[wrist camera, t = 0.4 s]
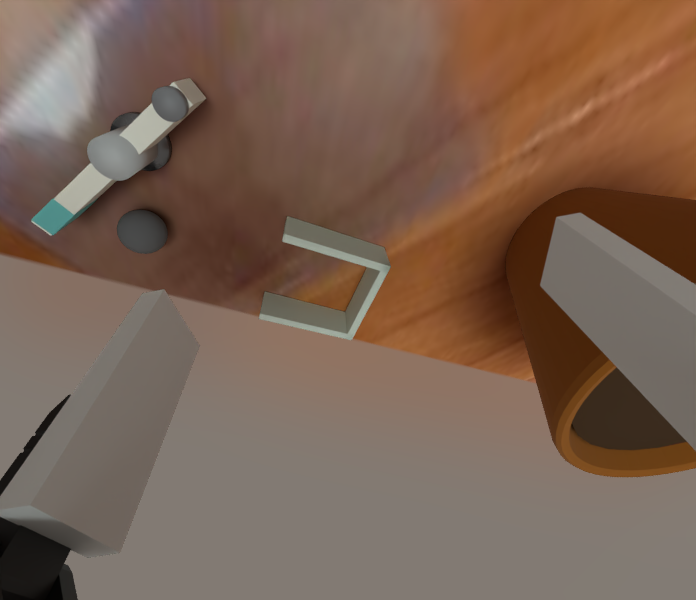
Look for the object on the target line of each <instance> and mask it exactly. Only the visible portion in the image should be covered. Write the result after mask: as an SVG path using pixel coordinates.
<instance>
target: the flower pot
mask: <svg viewBox="0 0 696 600" xmlns="http://www.w3.org/2000/svg"><path fill="white" fill-rule="evenodd" d="M575 213H582V214H583V215H585V216H587V217H588V218H590V219H591V220H593V221H595V222H596V223H598V224H599V225H601V226H603V227H604V228H606V229H607V230H609V231H611V232H612V233H614V234H615V235H617V236H619V237H620V238H622V239H623V240H625V241H627V242H628V243H630V244H631V245H633V246H635V247H636V248H638V249H639V250H641V251H643V252H644V253H646V254H647V255H649V256H651V257H652V258H654V259H655V260H657V261H659V262H660V263H662V264H663V265H665V266H667V267H668V268H670V269H671V270H673V271H675V272H676V273H678V274H679V275H681V276H683V277H684V278H686V279H687V280H689V281H691V282H692V283H694V284H695V285H696V200H690V199H681V198H673V197H665V196H656V195H648V194H640V193H631V192H623V191H614V190H606V189H598V188H578V189H574V190H570V191H567V192H564V193H561V194H559V195H557V196H555V197H553V198H551V199H550V200H548V201H546V202H545V203H543V204H542V205H541V206H539V207H538V208H537V209H536V210H535V211H533V212H532V213H531V214H530V215H529V216H528V217H527V218H526V220H525V221H524V222H523V223H522V224H521V226H520V227H519V229H518V230H517V232H516V233H515V235H514V237H513V239H512V241H511V243H510V245H509V248H508V251H507V255H506V262H505V270H506V276H507V280H508V283H509V287H510V290H511V294H512V298H513V301H514V305H515V308H516V312H517V315H518V319H519V322H520V326H521V330H522V333H523V337H524V340H525V344H526V347H527V351H528V354H529V358H530V362H531V365H532V369H533V372H534V376H535V379H536V383H537V386H538V390H539V393H540V397H541V401H542V404H543V408H544V411H545V415H546V418H547V422H548V426H549V429H550V433H551V436H552V440H553V442H554V444H555V446H556V448H557V450H558V451H559V453H560V455H561V456H562V457H563V458H564V459H565V460H566V461H567V462H569V463H570V464H572V465H573V466H575V467H577V468H579V469H581V470H583V471H586V472H589V473H593V474H596V475H603V476H610V477H642V476H653V475H661V474H668V473H673V472H679V471H684V470H689V469H693V468H696V451H695V450H694V449H693V448H692V447H691V445H690V444H689V443H688V442H687V441H686V440H685V439H684V438H683V437H682V436H681V435H680V434H679V433H678V432H677V431H676V430H675V428H674V427H673V426H672V425H671V424H670V423H669V422H668V421H667V420H666V419H665V418H664V417H663V416H662V415H661V414H660V413H659V411H658V410H657V409H656V408H655V407H654V406H653V405H652V404H651V403H650V402H649V401H648V400H647V399H646V398H645V397H644V396H643V395H642V393H641V392H640V391H639V390H638V389H637V388H636V387H635V386H634V385H633V384H632V383H631V382H630V381H629V380H628V379H627V378H626V376H625V375H624V374H623V373H622V372H621V371H620V370H619V369H618V368H617V367H616V366H615V365H614V364H613V363H612V362H611V361H610V359H609V358H608V357H607V356H606V355H605V354H604V353H603V352H602V351H601V350H600V349H599V348H598V347H597V346H596V345H595V344H594V342H593V341H592V340H591V339H590V338H589V337H588V336H587V335H586V334H585V333H584V332H583V331H582V330H581V329H580V328H579V327H578V325H577V324H576V323H575V322H574V321H573V320H572V319H571V318H570V317H569V316H568V315H567V314H566V313H565V312H564V311H563V310H562V309H561V307H560V306H559V305H558V304H557V303H556V302H555V301H554V300H553V299H552V298H551V297H550V296H549V295H548V294H547V293H546V292H545V290H544V289H543V288H542V287H541V286H540V283H541V279H542V275H543V271H544V266H545V262H546V258H547V254H548V250H549V245H550V241H551V237H552V233H553V229H554V225H555V220H556V217H559V216H564V215H570V214H575Z"/></svg>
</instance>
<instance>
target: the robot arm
mask: <svg viewBox="0 0 696 600" xmlns="http://www.w3.org/2000/svg"><path fill="white" fill-rule="evenodd" d="M540 286H541V287H542V288H543V289H544V290H545V292H546V293H547V294H548V295H549V296H550V297H551V298H552V299H553V300H554V301H555V302H556V303H557V304H558V305H559V306H560V307H561V309H562V310H563V311H564V312H565V313H566V314H567V315H568V316H569V317H570V318H571V319H572V320H573V321H574V322H575V323H576V324H577V325H578V327H579V328H580V329H581V330H582V331H583V332H584V333H585V334H586V335H587V336H588V337H589V338H590V339H591V340H592V341H593V342H594V344H595V345H596V346H597V347H598V348H599V349H600V350H601V351H602V352H603V353H604V354H605V355H606V356H607V357H608V358H609V359H610V361H611V362H612V363H613V364H614V365H615V366H616V367H617V368H618V369H619V370H620V371H621V372H622V373H623V374H624V375H625V376H626V378H627V379H628V380H629V381H630V382H631V383H632V384H633V385H634V386H635V387H636V388H637V389H638V390H639V391H640V392H641V393H642V395H643V396H644V397H645V398H646V399H647V400H648V401H649V402H650V403H651V404H652V405H653V406H654V407H655V408H656V409H657V410H658V411H659V413H660V414H661V415H662V416H663V417H664V418H665V419H666V420H667V421H668V422H669V423H670V424H671V425H672V426H673V427H674V428H675V430H676V431H677V432H678V433H679V434H680V435H681V436H682V437H683V438H684V439H685V440H686V441H687V442H688V443H689V444H690V445H691V447H692V448H693V449H694V450H695V451H696V285H695V284H694V283H692V282H691V281H689V280H687V279H686V278H684V277H683V276H681V275H679V274H678V273H676V272H675V271H673V270H671V269H670V268H668V267H667V266H665V265H663V264H662V263H660V262H659V261H657V260H655V259H654V258H652V257H651V256H649V255H647V254H646V253H644V252H643V251H641V250H639V249H638V248H636V247H635V246H633V245H631V244H630V243H628V242H627V241H625V240H623V239H622V238H620V237H619V236H617V235H615V234H614V233H612V232H611V231H609V230H607V229H606V228H604V227H603V226H601V225H599V224H598V223H596V222H595V221H593V220H591V219H590V218H588V217H587V216H585V215H583V214H582V213H575V214H570V215H564V216H559V217H556V220H555V225H554V229H553V233H552V237H551V241H550V245H549V250H548V254H547V258H546V262H545V266H544V271H543V275H542V279H541V283H540ZM199 347H200V345H199V343H198V342H197V341H196V339H195V337H194V335H193V334H192V332H191V331H190V329H189V328H188V326H187V325H186V323H185V321H184V320H183V318H182V316H181V315H180V313H179V312H178V310H177V308H176V307H175V306H174V304H173V302H172V301H171V299H170V297H169V296H168V294H167V293H166V291H165V289H163V290H157V291H152V292H146V293H142V295H141V296H140V298H139V299H138V300H137V302H136V303H135V305H134V306H133V308H132V309H131V310H130V312H129V313H128V315H127V316H126V318H125V319H124V320H123V322H122V323H121V325H120V326H119V328H118V329H117V330H116V332H115V333H114V335H113V336H112V337H111V339H110V340H109V342H108V343H107V345H106V346H105V348H104V349H103V350H102V352H101V353H100V355H99V356H98V357H97V359H96V360H95V362H94V363H93V365H92V366H91V367H90V369H89V370H88V372H87V373H86V375H85V376H84V378H83V379H82V380H81V382H80V383H79V385H78V386H77V388H76V389H75V390H74V392H73V393H72V395H68V396H67V397H66V398H65V399H64V400H63V401H62V402H61V403H59V404H58V405H57V406H56V407H55V408H54V409H53V410H52V411H51V412H50V413H49V414H48V415H47V417H46V418H45V420H44V421H43V422H42V424H41V425H40V427H39V428H38V429H37V431H36V432H35V433H36V435H35V436H32V437H31V439H30V440H29V442H28V443H27V444H26V446H25V447H24V452H23V453H20V454H19V456H18V457H17V458H16V459H15V461H14V462H13V464H12V465H11V466H10V468H9V469H8V471H7V472H6V473H5V475H4V476H3V477H2V479H1V480H0V600H78V599H77V594H76V589H75V585H74V579H73V574H72V571H71V570H70V568H69V566H68V565H66V564H64V562H65V560H66V558H67V556H68V554H69V552H70V550H73V551H75V552H77V553H79V554H81V555H83V556H85V557H87V558H90V557H97V556H103V555H110V554H116V553H120V552H121V549H122V547H123V544H124V541H125V539H126V536H127V534H128V531H129V528H130V526H131V523H132V521H133V518H134V515H135V513H136V510H137V507H138V505H139V502H140V500H141V497H142V495H143V492H144V489H145V487H146V484H147V482H148V479H149V477H150V474H151V471H152V469H153V466H154V464H155V461H156V458H157V456H158V453H159V451H160V448H161V445H162V443H163V440H164V437H165V435H166V432H167V430H168V427H169V425H170V422H171V419H172V417H173V414H174V412H175V409H176V406H177V404H178V401H179V398H180V396H181V394H182V390H183V388H184V386H185V383H186V380H187V378H188V375H189V372H190V370H191V368H192V365H193V362H194V360H195V357H196V354H197V352H198V349H199Z"/></svg>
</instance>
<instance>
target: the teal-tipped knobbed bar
mask: <svg viewBox="0 0 696 600" xmlns="http://www.w3.org/2000/svg"><path fill="white" fill-rule="evenodd" d="M205 99H206V97H205V96H204V95H203V93H202V92H201V91H200V90H199V89H198V87H197V86H196V85H195V84H194V82H193V81H192V80H191V79H190V78H187V79H183V80H179V81H175V82H173V83H172V84H171V85H170V86H164V87H161V88H158V89H156V90H155V91H154V93H153V95H152V103H151V104H150V105H149V106H148V107H147V108H146V109H145V110H144V111H143V112H142V113H141V114H140V115H139V116H138V117H137V118H136V119H135V120H134V121H133V122H132V123H131V124H128V125H125V126H122V127H120V128H118V129H115V130H113V131H110V132H108V133H105V134H103V135H101V136H98V137H96V138H94V139H92V140H91V141H90V142H89V144H88V148H87V153H88V157H89V160H90V162H91V163H90V164H89V165H88V166H87V167H86V168H85V169H84V170H83V171H82V172H81V173H80V174H79V175H78V176H77V177H76V178H75V179H74V180H73V181H72V182H71V183H70V184H69V185H68V186H66V187H65V188H64V189H63V190H62V191H61V192H60V193H59V194H58V195H57V196H56V197H55V198H53V199H52V200H51V201H50V202H49V203H48V204H47V205H46V206H45V207H44V208H43V209H42V210H41V211H40V212H39V213H38V214H37V215H35V216H34V217H33V218H32V219H31V220H32V221H31V222H32V223H34V224H35V225H37V226H38V227H39V228H41V229H42V230H44V231H45V232H46V233H48V234H49V235H51V236H52V235H54V234H56V233H57V232H58V231H60V230H61V229H62V228H64V227H65V226H67V225H68V224H69V223H71V222H72V221H74V220H75V219H76V218H78V217H79V216H80V215H81V214H82V213H83V212H84V211H86V210H87V209H88V208H89V207H90V206H91V205H92V204H93V203H94V202H95V201H96V200H97V198H99V197H100V196H101V195H102V194H103V193H104V192H105V191H106V190H107V189H108V188H109V187H111V186H112V185H113V184H114V183H115V182H116V181H117V180H118V181H122V180H126V179H128V178H130V177H131V176H133V175H134V174H135V173H137V172H138V171H140V170H141V169H143V168H144V167H145V166H147V165H148V164H150V163H151V162H153V161H154V160H155V159H156V158H157V156H158V144H157V143H158V142H160V141H161V140H162V139H163V138H164V137H165V136H166V135H167V134H168V133H169V132H170V131H172V130H173V129H174V128H175V127H176V126H177V125H178V124H179V123H180V122H181V121H182V120H184V119H185V118H186V117H187V116H188V115H189V114H190V113H191V112H192V111H193V110H194V109H196V108H197V107H198V106H199V105H200V104H201V103H202V102H203V101H204V100H205Z"/></svg>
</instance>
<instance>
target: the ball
mask: <svg viewBox="0 0 696 600" xmlns="http://www.w3.org/2000/svg"><path fill="white" fill-rule="evenodd" d="M117 234H118V237H119V239H120V241H121V242H122V243H123V245H124V246H126V247H127V248H128V249H130V250H132V251H134V252H137V253H143V254H147V253H153V252H155V251H157V250H159V249H160V248H162V247H163V245H164V244H165V242H166V240H167V236H168V232H167V228H166V225H165V223H164V222H163V220H162V219H161V218H160V217H159V216H157V215H156V214H154V213H152V212H150V211H146V210H133V211H130V212H128V213H126V214H125V215H123V216H122V217H121V219H120V220H119V222H118V225H117Z"/></svg>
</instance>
